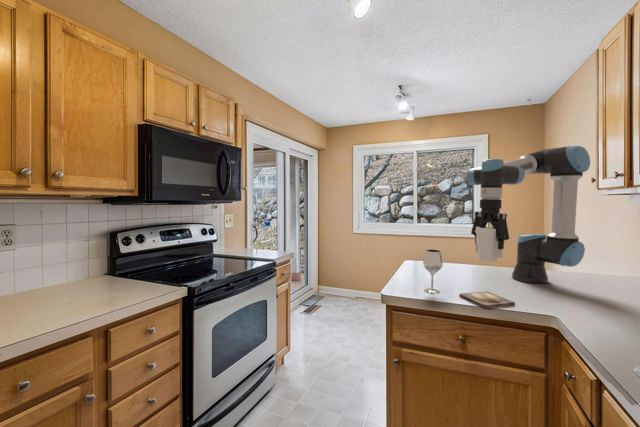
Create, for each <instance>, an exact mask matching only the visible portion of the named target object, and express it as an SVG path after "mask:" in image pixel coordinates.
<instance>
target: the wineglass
mask: <svg viewBox="0 0 640 427" xmlns="http://www.w3.org/2000/svg"><path fill="white" fill-rule="evenodd" d="M442 256H443V255H442V253H441V250H438V249H426V250H425V254H424V257H423V261H422V265H423V267H424V268H425V270H426V271H427V272H429V274H430V275H431V278H430V280H431V282H430V285H431V286H430V288H425V289H424V292H425V293H429V294H439V293H441V292H440V290H439V289H436V288H434V275H435V274H437V272H439V271H440V270H441V269H442V268H443V265H444V264H443V263H444V262H443V258H442Z"/></svg>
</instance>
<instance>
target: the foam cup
mask: <svg viewBox="0 0 640 427" xmlns="http://www.w3.org/2000/svg"><path fill="white" fill-rule="evenodd" d="M476 235H477V245H478V253H477V254H478V260H480V261H483V262H489V263H490V262H492V263H493V262H497V261H498V258H496V257H495V241H496V240H497V237H496V229H493V226H488V225H486V227H485V228H480V227H479V226H478V227H476Z"/></svg>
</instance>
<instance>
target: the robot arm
mask: <svg viewBox="0 0 640 427" xmlns="http://www.w3.org/2000/svg"><path fill="white" fill-rule="evenodd" d="M590 158H591V156H590V155H589V152H588V151H587V149H586V148H585V147H583V146H581V145H568V146H562V147H555V148H554V147H553V148H545V149H542V150H541V149H540V150H538V151H534V152H529V153H527V154H523V155H521V156H520V157H519V158H516V159H515V158H514V159H512V160H507V161H504V160H503V159H502V158H489V159H484V160H482V163H481V167H474V168H471V169H469V170H468V171H467V172H466V181H467V183H468V184H469V185H472V186H474V185H475V186H478V185H479V186H480V195H479V196H480V198H481V199H480V200H479V208H480V209H481V210H480V211H475V212H474V219H473V223H472V228H471V231H470V232H471V233H470V234H471V235H473V236H474V244H475V252H474V253H477V254H478V245H477V235H476V227H478V226H479V227H480V228H485V227H486V226H488V225H487V224H489V223H490V225H492V226H491V227H493V229H496V237H497V240H496V241H495V257H496V258H497V259H499V258H500V259H501V258H503V250H504V249H505V248H504V246H505V245H504V244H505V241H508V240H510V235H509V229H508V222H507V216H508V214H507V213H501V212H500V210H501V209H502V202H503V201H502V199H501V198H502V197H503V185H511V186H512V185H519V184H521V183H522V182H523V181H524V179H525V177H526V175H527V176H528V175H533V174H542V175H543V174H549V176H550V178H551V179H552V180H553V195H552V196H553V197H552V210H551V211H552V214H551V230H550V232H549V233H548V234H547V235H546V234H545V233H544V234H543V233H542V234H540V233H539V234H534V233H533V234H521V235H519V236H518V239H517V242H516V243H517V251H516V255H517V256H516V265H515V267H514V269H513V271H512V273H511V277H512V279H514V280H515V281H519V282H522V283H529V284H543V285H544V284H547V283H548V282H549V277H548V274H547V270H546V266H545V264H546V263H548V264H549V263H550V264H553V265H559V266H562V267H576V266H577V265H579V264H580V263H581V261H582V260H583V258H584V257H585V256H584V255H585V251H586V248H585V245H584V243H583V242H581V241H579V238H580V237H579V236H578V235H577V234H576V222H577V221H576V219H577V218H576V217H577V201H578V185H579V180H580V179H582V178H583V174H584V173H585V172H587V171H588V170H589V168H590V166H591V159H590Z"/></svg>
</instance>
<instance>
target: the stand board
mask: <svg viewBox="0 0 640 427" xmlns="http://www.w3.org/2000/svg"><path fill="white" fill-rule="evenodd" d="M459 297H460V298H461V297H462V299H464V300H466V301H468V302H470V303H472V302H473V303H472V304H474V303H475V305H476V304H477V306H479V307H481V308H482V309H493V308H492V307H494V308H500V307H499V306H504V307H511V306H510V305H514V306H515V305H516V302H515V301H513V300H511V299H510V300H509V299H507V298H505V297H502V296H500V295H497V294H495V293H493V292H490V291H488V290H487V291H475V292H465V293H462V292H461V293H459Z"/></svg>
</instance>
